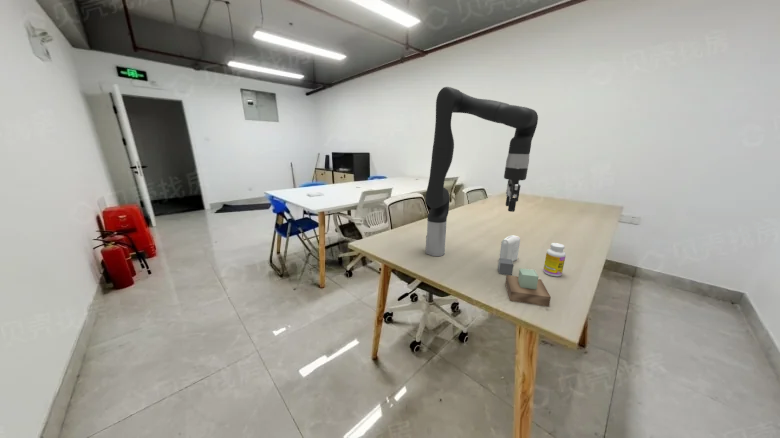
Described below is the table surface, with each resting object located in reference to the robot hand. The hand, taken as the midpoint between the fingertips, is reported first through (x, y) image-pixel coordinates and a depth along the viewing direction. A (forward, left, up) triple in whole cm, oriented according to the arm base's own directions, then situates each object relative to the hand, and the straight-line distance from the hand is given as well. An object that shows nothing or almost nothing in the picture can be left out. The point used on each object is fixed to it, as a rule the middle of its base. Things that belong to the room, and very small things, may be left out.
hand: (509, 208), depth 97 cm
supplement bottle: (+21, +7, -29) cm, 36 cm away
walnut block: (+7, -14, -29) cm, 33 cm away
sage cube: (+7, -13, -25) cm, 29 cm away
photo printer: (+5, +15, -29) cm, 32 cm away
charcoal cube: (+2, +3, -29) cm, 29 cm away
